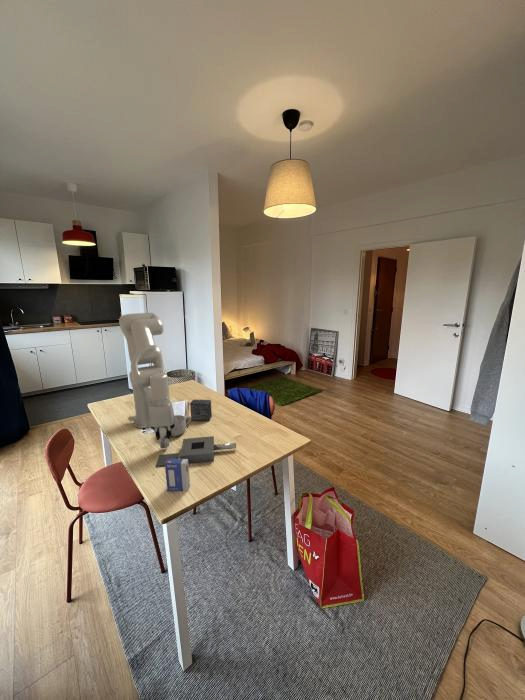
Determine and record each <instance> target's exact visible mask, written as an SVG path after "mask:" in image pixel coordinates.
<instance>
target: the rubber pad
mask: <svg viewBox="0 0 525 700" xmlns="http://www.w3.org/2000/svg"><path fill="white" fill-rule="evenodd" d="M178 457H179V453H178V452H177V453H175V452H174V453H166V454H165V453H164V454H158V458H157V461H156V465H155V468H159V467H165V462H166V460H167V459H178Z"/></svg>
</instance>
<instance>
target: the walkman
mask: <svg viewBox="0 0 525 700" xmlns="http://www.w3.org/2000/svg"><path fill="white" fill-rule="evenodd" d="M164 469H165V471H164V472H165V479H166V489H167V492H188V491H189V489H190V488H191V480H190V479H191V478H190V465H189V464H188V459H180V458H177V459H167V460H166V462H165V466H164Z"/></svg>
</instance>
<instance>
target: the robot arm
mask: <svg viewBox="0 0 525 700" xmlns="http://www.w3.org/2000/svg"><path fill="white" fill-rule="evenodd" d="M118 323H119V327H120V330H121V332H122V334H123V335H124V337H125V340H126V345H127V351H128V357H129V361H130V372H129V374H128V375H129V380H130V383H131V388H132V393H133V394H132V395H133V401H134V409H135V410H134V411H135V415H133V416H128V417H127V419H128V421H129V422H133V426H134V427H135V428H138V429H144V428H145V429H146V428H150V429H151V430H153V431H154V433H155V438H156V440H157V441H158V440H159V429H158V427H164V426H167V427H168V431H167V435H168V439H169V440H170V439H171V437H172V436H171V435H172V433H171V429H172V428H173V427H174V426H176V425H177V424H178V423H179V421H178V420H177V419H176V418H175V417H174V415H175V412H174V407H173V404H172V401H171V400H170V399H171V398H170V389H169V376H168V373H167V370H165V368H164V363H163V362H164V361H163V354H162V351H161V348H160V347H159V346H158V345H156V343H155V340H154V339H155V338H154V336H161V335H162V334H163V333H164V324H163V322H162V320H161V318H160V317H159V316H158V315H156V314H155V313H154V312H138V313H128V314H127V313H126V314H123V315H120V317H119V321H118ZM148 364H149V365H148ZM150 364H153V365H150ZM142 365H147V366H142ZM138 366H142V367H138Z"/></svg>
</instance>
